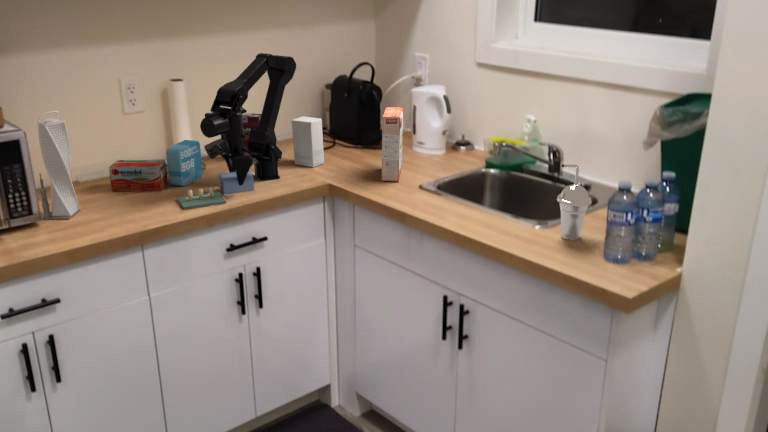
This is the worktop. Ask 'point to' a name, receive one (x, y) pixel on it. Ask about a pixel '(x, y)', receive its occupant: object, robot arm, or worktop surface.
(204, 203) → the header board
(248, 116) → the supplement box
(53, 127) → the skyscraper
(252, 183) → the housing
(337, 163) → the worktop surface
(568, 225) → the cup with straw
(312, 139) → the skincare box
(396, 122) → the cracker box
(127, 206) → the worktop surface
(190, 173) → the data package
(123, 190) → the medicine box
